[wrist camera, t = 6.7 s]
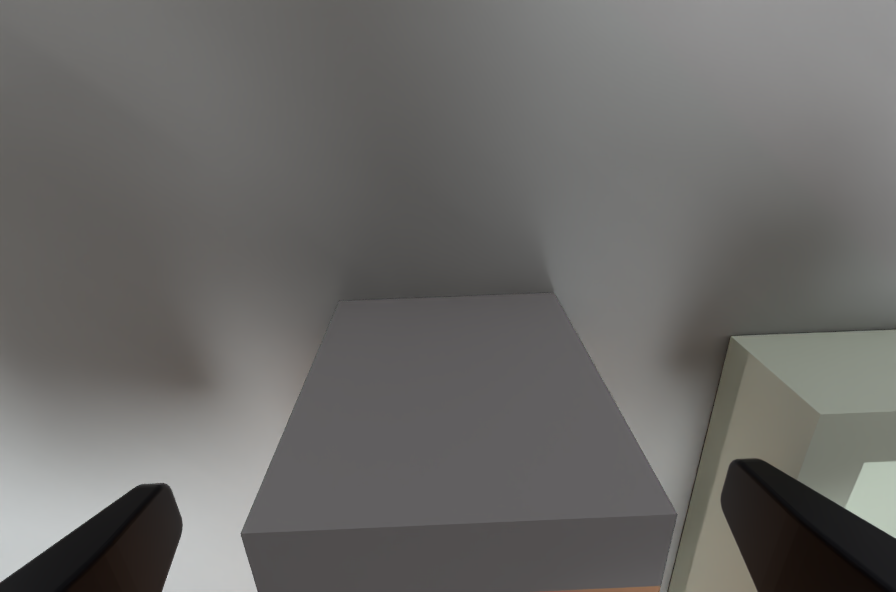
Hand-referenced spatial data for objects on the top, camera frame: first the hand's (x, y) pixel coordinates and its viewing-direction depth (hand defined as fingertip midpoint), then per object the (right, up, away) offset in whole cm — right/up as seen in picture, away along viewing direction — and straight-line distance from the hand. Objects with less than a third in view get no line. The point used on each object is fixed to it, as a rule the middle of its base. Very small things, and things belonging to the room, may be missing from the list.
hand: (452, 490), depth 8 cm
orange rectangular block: (0, -3, +4) cm, 5 cm away
